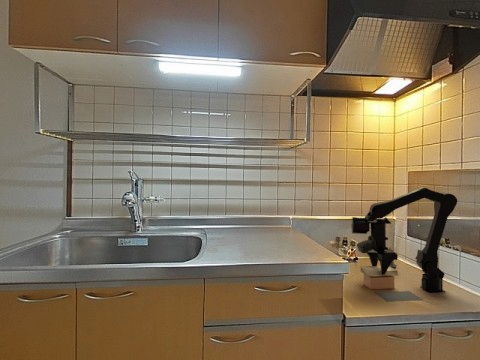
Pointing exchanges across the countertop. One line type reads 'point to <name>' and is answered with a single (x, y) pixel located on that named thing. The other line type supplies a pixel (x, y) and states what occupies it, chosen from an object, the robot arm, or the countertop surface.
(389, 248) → the salt shaker
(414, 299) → the mat
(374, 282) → the open box
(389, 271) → the beige block on tray
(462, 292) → the countertop surface
